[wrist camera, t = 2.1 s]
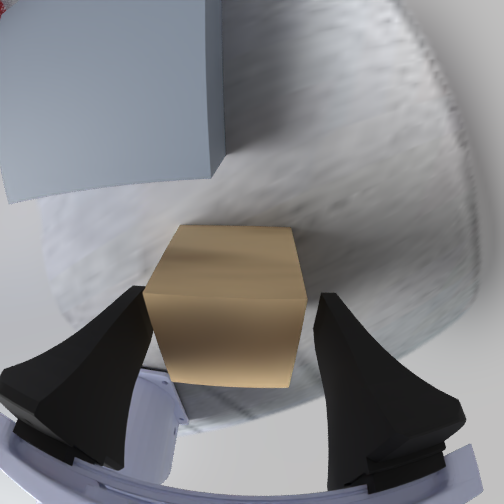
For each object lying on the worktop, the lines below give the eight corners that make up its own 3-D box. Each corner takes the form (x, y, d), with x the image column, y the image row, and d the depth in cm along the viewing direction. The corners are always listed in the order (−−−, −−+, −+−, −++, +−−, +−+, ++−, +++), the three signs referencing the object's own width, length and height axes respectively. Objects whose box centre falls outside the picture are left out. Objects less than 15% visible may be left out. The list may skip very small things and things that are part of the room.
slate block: (226, 153, 11) (211, 178, 7) (59, 175, 11) (8, 204, 8) (222, -31, 6) (208, -77, 3) (52, 21, 6) (1, 14, 3)
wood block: (281, 309, 15) (288, 387, 10) (191, 306, 15) (171, 381, 10) (290, 226, 12) (307, 299, 8) (180, 224, 12) (142, 292, 8)
